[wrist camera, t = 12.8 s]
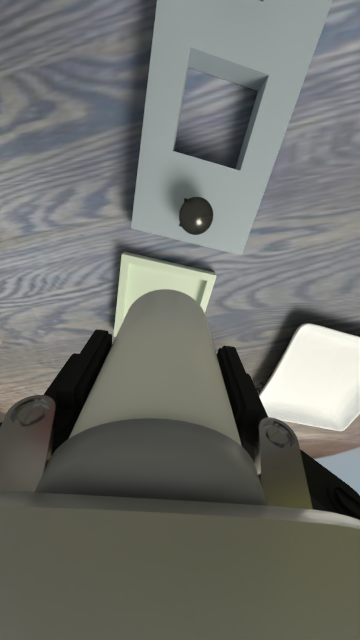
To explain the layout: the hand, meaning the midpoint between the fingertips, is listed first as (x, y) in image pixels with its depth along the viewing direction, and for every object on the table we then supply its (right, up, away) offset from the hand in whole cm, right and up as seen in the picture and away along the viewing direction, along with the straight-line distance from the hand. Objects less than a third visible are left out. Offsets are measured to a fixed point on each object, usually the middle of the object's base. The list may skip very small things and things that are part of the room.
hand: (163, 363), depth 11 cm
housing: (+5, +24, +12) cm, 27 cm away
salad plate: (+27, -8, +30) cm, 41 cm away
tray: (-2, +5, +22) cm, 23 cm away
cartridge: (0, +2, +3) cm, 4 cm away
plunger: (+2, +16, +16) cm, 23 cm away
